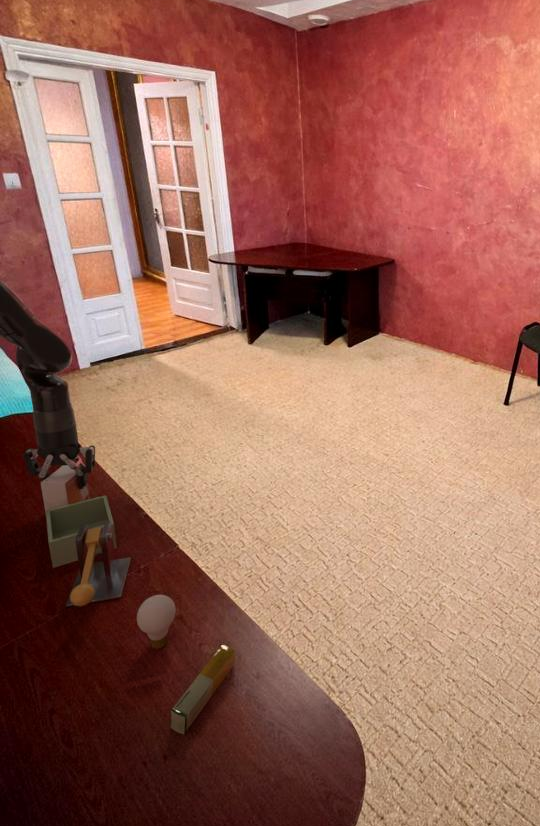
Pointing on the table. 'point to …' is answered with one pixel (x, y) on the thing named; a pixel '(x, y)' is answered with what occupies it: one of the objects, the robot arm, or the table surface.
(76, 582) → the grey metal angular piece
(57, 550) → the grey-green open bin
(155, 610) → the light bulb
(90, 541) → the tap lever
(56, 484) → the small box
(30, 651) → the table surface
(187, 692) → the medication box
